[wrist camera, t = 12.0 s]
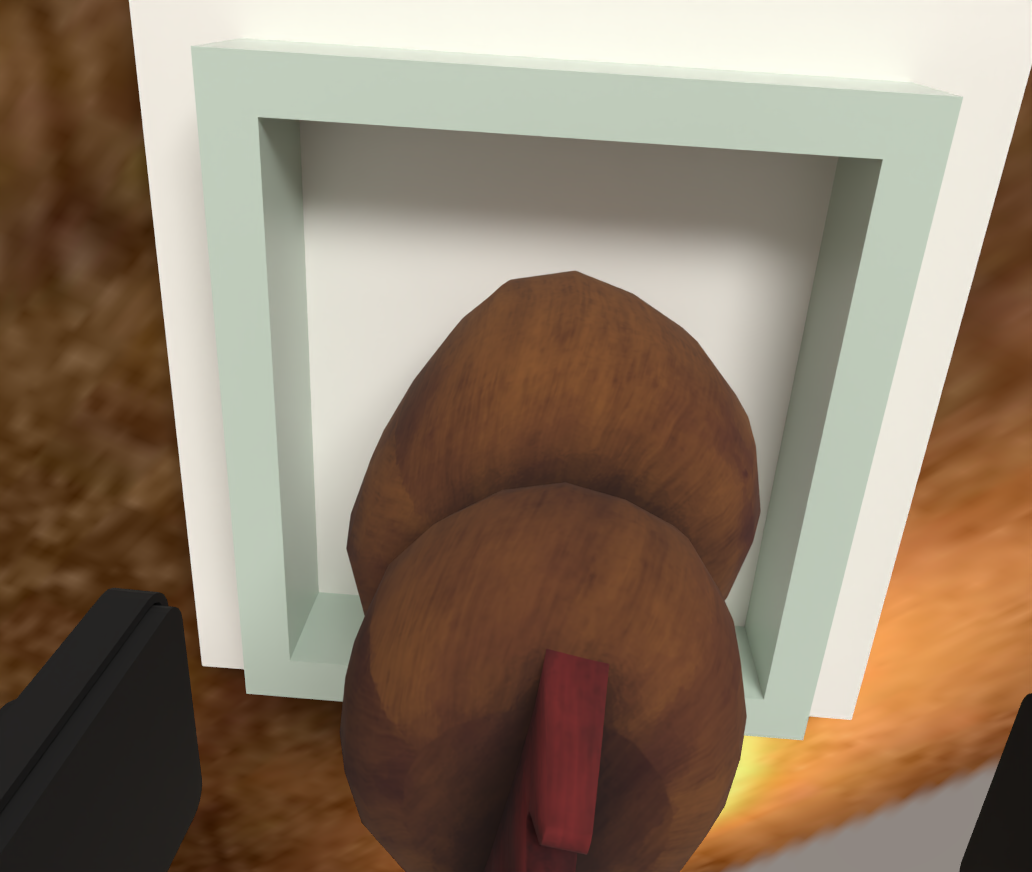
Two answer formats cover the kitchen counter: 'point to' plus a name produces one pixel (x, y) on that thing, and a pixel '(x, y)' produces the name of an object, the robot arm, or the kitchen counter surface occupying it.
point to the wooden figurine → (551, 592)
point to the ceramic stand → (566, 267)
